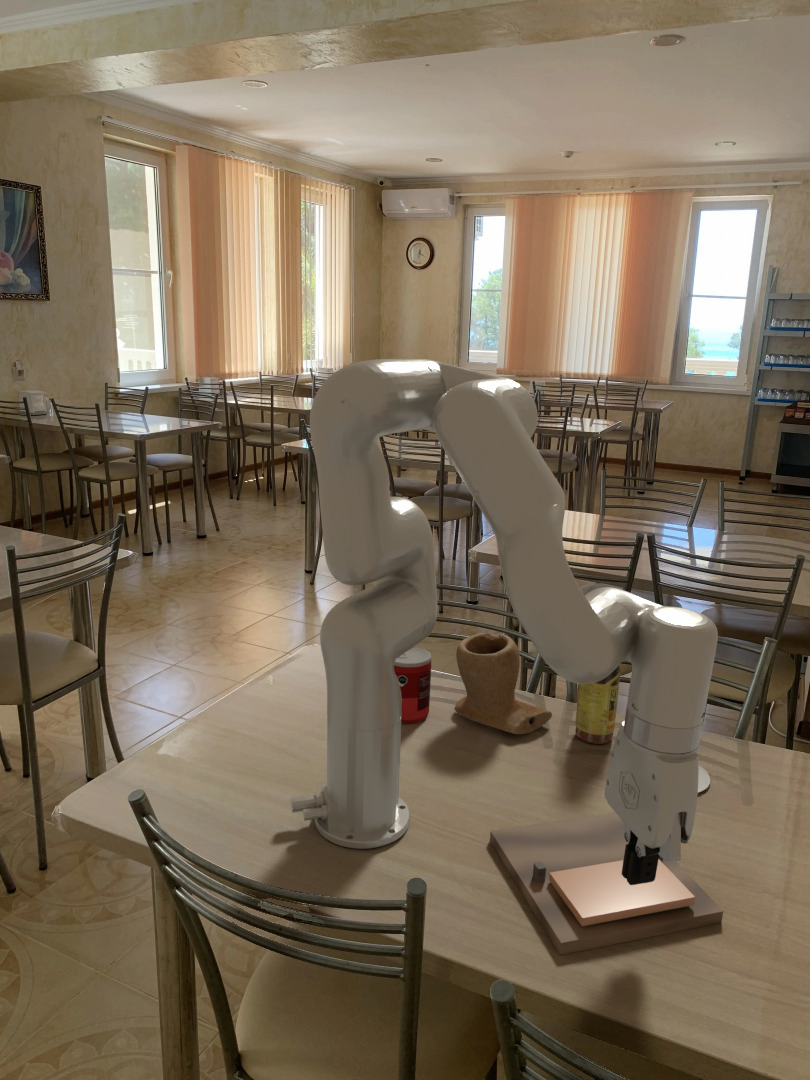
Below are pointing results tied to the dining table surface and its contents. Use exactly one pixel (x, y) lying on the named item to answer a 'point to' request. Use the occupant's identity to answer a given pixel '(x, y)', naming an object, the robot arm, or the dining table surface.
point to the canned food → (414, 684)
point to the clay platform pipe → (494, 685)
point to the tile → (617, 892)
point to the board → (580, 846)
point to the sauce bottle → (597, 709)
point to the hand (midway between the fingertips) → (637, 878)
